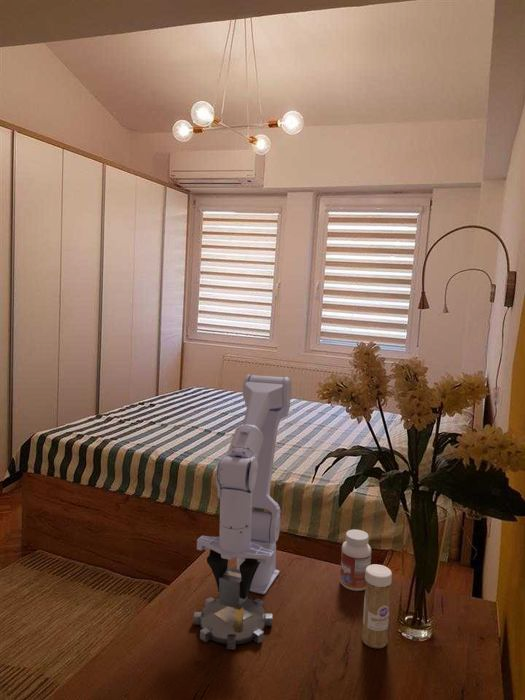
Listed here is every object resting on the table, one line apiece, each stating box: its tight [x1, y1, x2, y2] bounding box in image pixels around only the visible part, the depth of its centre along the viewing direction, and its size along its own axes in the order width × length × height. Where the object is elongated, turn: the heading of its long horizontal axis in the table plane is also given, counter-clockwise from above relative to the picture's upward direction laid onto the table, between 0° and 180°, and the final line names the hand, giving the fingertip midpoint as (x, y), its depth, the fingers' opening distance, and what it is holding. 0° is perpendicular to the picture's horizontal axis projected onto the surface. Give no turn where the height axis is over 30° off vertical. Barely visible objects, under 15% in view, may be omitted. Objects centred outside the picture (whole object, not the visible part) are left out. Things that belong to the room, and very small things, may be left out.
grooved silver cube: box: [218, 566, 249, 608], centre depth 96 cm, size 4×4×5 cm
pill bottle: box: [339, 529, 372, 592], centre depth 112 cm, size 6×6×11 cm
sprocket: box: [193, 596, 273, 650], centre depth 97 cm, size 14×14×6 cm
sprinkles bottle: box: [361, 563, 393, 649], centre depth 93 cm, size 5×5×14 cm
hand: (233, 593), depth 97 cm, fingers closed on grooved silver cube, 4 cm apart
